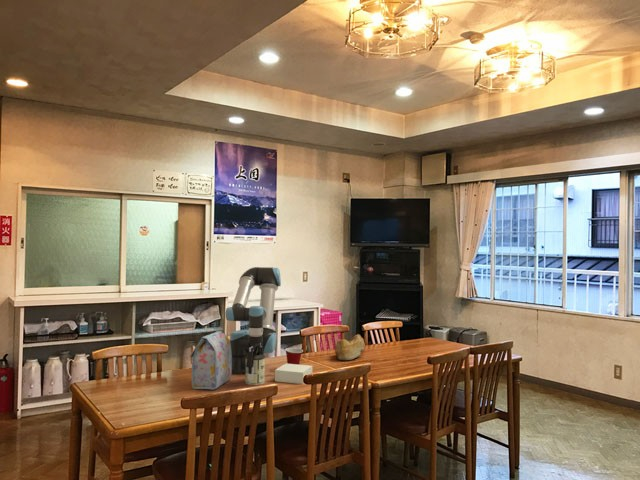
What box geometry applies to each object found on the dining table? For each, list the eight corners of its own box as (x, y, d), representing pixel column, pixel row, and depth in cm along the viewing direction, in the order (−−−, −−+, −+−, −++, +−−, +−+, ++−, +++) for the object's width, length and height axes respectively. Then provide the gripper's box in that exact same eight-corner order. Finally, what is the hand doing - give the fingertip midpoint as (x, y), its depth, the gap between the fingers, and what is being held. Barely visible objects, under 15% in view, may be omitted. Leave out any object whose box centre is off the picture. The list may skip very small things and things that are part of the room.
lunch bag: (204, 377, 265) (205, 329, 266) (233, 379, 262) (234, 330, 263) (186, 389, 243) (187, 336, 243) (218, 391, 240) (219, 337, 241)
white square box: (274, 381, 260) (275, 369, 260) (285, 374, 276) (285, 363, 276) (302, 384, 256) (303, 372, 256) (312, 376, 271) (312, 365, 271)
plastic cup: (300, 372, 279) (300, 351, 280) (282, 371, 282) (282, 350, 282) (304, 368, 290) (305, 348, 290) (287, 367, 292) (287, 347, 292)
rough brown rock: (350, 354, 334) (349, 332, 335) (368, 356, 322) (367, 333, 323) (326, 360, 318) (325, 337, 319) (344, 362, 306) (343, 339, 307)
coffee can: (247, 379, 263) (248, 353, 263) (266, 380, 262) (266, 354, 262) (242, 384, 252) (243, 357, 253) (262, 385, 251) (262, 358, 252)
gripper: (253, 339, 246) (252, 383, 245) (270, 332, 267) (269, 372, 267) (239, 338, 248) (238, 381, 247) (258, 331, 270) (257, 371, 269)
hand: (254, 377), depth 257 cm, fingers closed on coffee can, 10 cm apart
